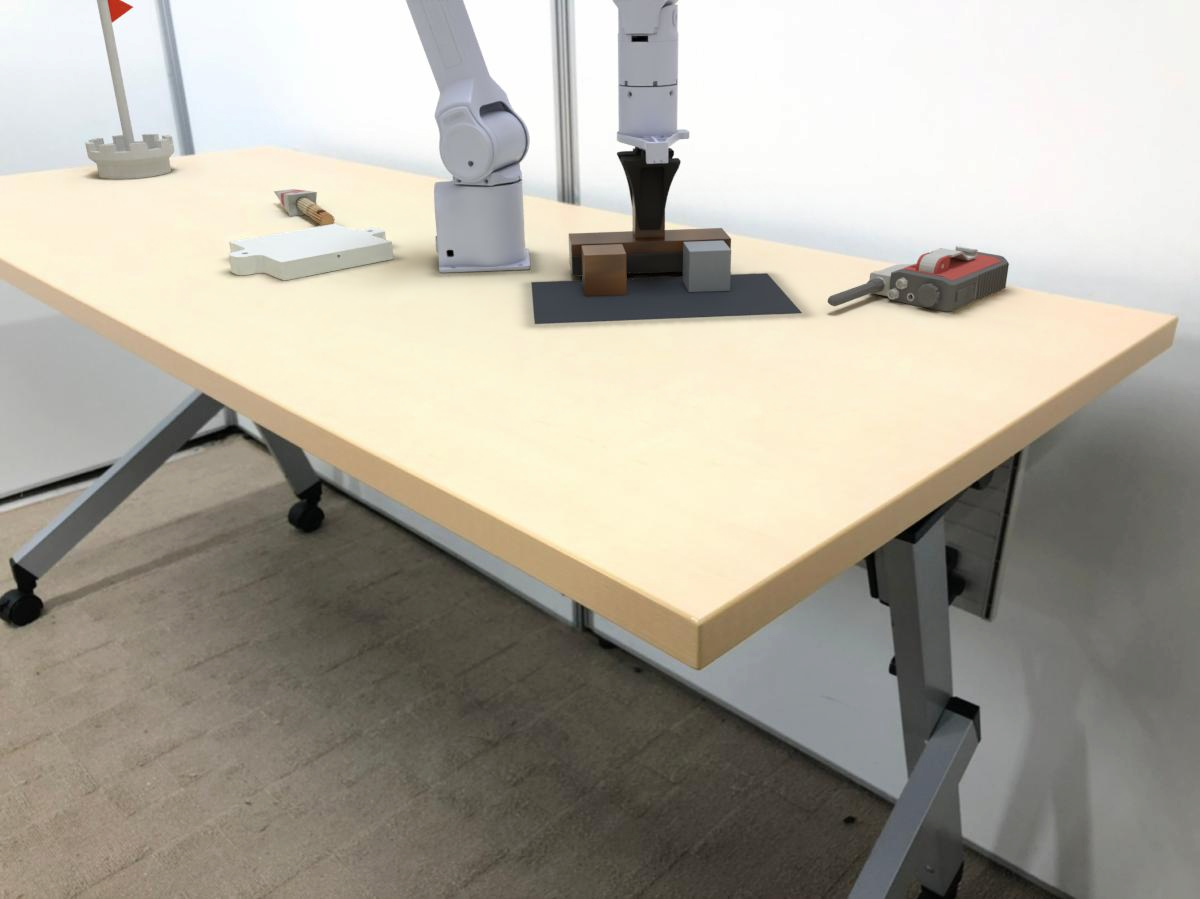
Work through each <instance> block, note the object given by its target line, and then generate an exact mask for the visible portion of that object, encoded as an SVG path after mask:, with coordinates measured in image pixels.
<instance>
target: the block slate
mask: <svg viewBox="0 0 1200 899" xmlns="http://www.w3.org/2000/svg"><path fill="white" fill-rule="evenodd" d="M731 270H732V248H731V249H730V248H729V247H728V246H727V244H726V243H725V242H724V241H695V242H683V272H682V276H683V283H684V284H685V286H686V288H687V290H688V291H689V292H711V291H730V275H731Z"/></svg>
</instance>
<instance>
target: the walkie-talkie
mask: <svg viewBox="0 0 1200 899" xmlns="http://www.w3.org/2000/svg"><path fill="white" fill-rule="evenodd" d="M1009 265H1010V263H1009V261H1008V260H1007V258H1006V257H1004V256H1003V255H1000V254H999V255H998V254H993V253H987V252H980V251H979V250H978V249H977V248H970V247H965V246H958V245H956V246H955V249H949V248H944V247H940V248H937V249H934V250H932V251H931V252H925V253H923V254H921V255H920V256H919V257H918V259H917V262H916V263H905V264H904V263H903V264H901V263H900V264H894V265H891V266H888V267H886V268H883V269H880V270H875V271H871V272H870V273H869V280H868V281H867V282H865V283H863V284H861V285H857V286H854V287H852V288H848V289H846V290H842V291H841V292H838V293H835V294H832V295H829V297H828V298H827V303H828V304H829V305H830V306H832V307H838V306H840V305H843V304H846V303H848V302H852V301H854V300H857V299H859V298H862V297H865V296H867V295H870V294H871V295H874V294H875V295H878V296H883V297H887V298H888V300H890V301H893V302H895V303H900V304H905V305H906V304H907V305H910V306H915V307H920V308H924V309H929V310H934V311H939V312H943V313H951V312H953V311H956V310H958V309H960V308H962V307H965V306H968V305H970V304H972V303H974V302H977V301H979V300H981V299H984V298H987V297H988V296H991V295H993V294H995V293H998V292H1000V291H1002V290H1005V289H1006V288H1007V281H1008V272H1009Z"/></svg>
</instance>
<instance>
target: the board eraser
mask: <svg viewBox="0 0 1200 899" xmlns="http://www.w3.org/2000/svg"><path fill="white" fill-rule="evenodd" d="M631 208H632V210H631V211H632V230H628V231H600V232H599V231H598V232H597V231H596V232H574V233H573V232H571V233H570V232H569V233H568V259H569V260H568V261H569V268H570V271H571V276H572V277H580V276H581V277H582V248H581V246H583V245H611V244H622V245H623V247H624V250H625V252H626V265H627V275H631V274H633V275H634V274H657V273H658V274H659V273H679V272H680V273H681V272H682V273H683V242H695V241H724V242H725V243H726V244H727V246H728V247H729V248H730V249H731V250H732V238H731V237H730V236H729V235H728V234H727V232H726V231H725V230H724V229H723V227H716V228H715V227H711V228H710V227H707V228H685V229H684V228H683V229H666V211H665V212H664V217H663V221H662V225H661V228H660V229H659V230H640V229H639V226H638V222H637V218H636V212H635V205H634V198H633V195H632V203H631Z"/></svg>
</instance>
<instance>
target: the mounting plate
mask: <svg viewBox="0 0 1200 899" xmlns="http://www.w3.org/2000/svg"><path fill="white" fill-rule="evenodd" d="M228 243H229V249H230V250H229V251H230V252H229V253H228V259H229V265H230V270H231V273H232V274H234V275H236V276H248V275H254V274H266V275H269V276H272V277H274V278H276V279H278V280H281V281H283V282H284V281H290V280H296V279H300V278H305V277H310V276H314V275H320V274H324V273H329V272H330V273H331V272H334V271H340V270H345V269H350V268H355V267H360V266H366V265H370V264H371V265H372V264H375V263H380V262H387V261H390V260H394V250H393V241H391V240H388V239H387V236H386V229H383V228H380V227H367V228H361V229H360V228H359V229H353V228H350V227H346V226H343V225H340V224H337V223H333V224H331V225H325V226H321V225H320V226H314V227H309V228H307V227H306V228H301V229H296V230H289V231H284V232H280V233H272V234H265V235H261V236H255V237H249V238H243V239H238V240H232V241H231V240H230V241H228Z"/></svg>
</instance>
